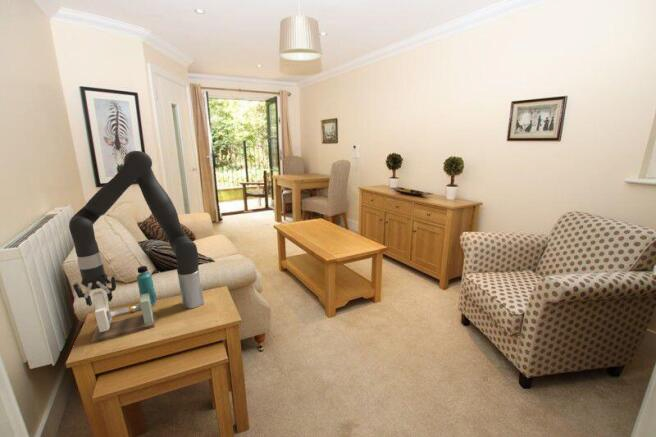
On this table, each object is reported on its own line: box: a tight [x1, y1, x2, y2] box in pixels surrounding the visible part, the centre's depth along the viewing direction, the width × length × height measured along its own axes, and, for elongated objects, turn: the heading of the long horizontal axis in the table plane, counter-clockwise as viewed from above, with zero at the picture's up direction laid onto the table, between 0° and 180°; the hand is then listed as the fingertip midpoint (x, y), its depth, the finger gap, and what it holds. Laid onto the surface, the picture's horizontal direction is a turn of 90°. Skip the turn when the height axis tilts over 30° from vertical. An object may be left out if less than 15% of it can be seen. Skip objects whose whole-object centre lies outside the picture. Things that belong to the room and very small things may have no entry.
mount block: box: [139, 293, 154, 324], centre depth 135 cm, size 3×8×10 cm, turn 27°
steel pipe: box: [94, 303, 142, 322], centre depth 131 cm, size 18×3×3 cm, turn 117°
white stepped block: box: [92, 289, 113, 332], centre depth 128 cm, size 3×9×15 cm, turn 27°
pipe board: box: [91, 311, 156, 344], centre depth 133 cm, size 22×11×2 cm, turn 117°
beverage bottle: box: [136, 265, 158, 305], centre depth 149 cm, size 6×7×20 cm
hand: (100, 302), depth 127 cm, fingers open, 6 cm apart
